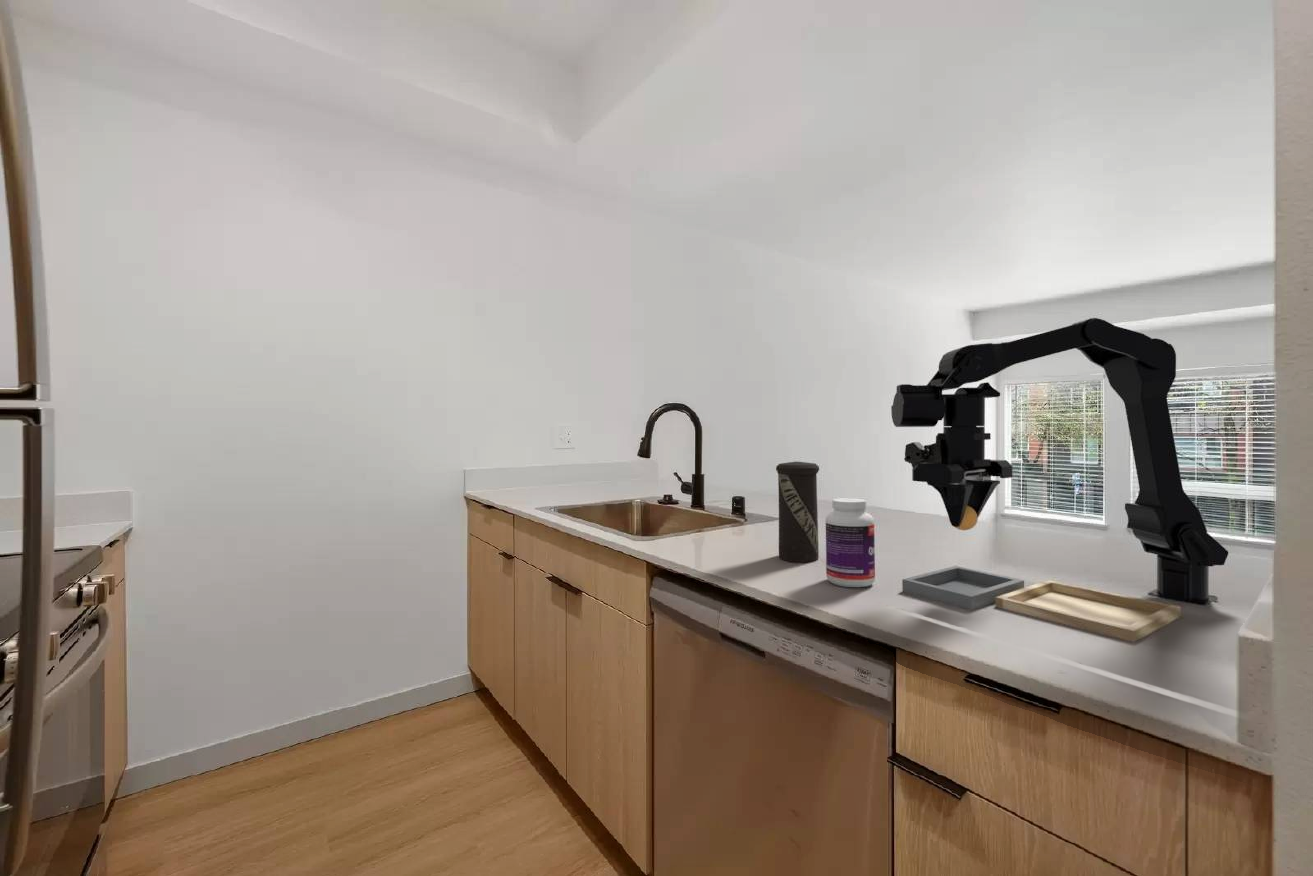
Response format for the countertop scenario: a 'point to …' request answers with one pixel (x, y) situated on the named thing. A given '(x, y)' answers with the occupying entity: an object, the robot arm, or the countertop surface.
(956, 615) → the countertop surface
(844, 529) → the pill bottle
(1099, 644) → the countertop surface
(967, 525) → the ball
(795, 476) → the container
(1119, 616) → the dish
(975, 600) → the tray
